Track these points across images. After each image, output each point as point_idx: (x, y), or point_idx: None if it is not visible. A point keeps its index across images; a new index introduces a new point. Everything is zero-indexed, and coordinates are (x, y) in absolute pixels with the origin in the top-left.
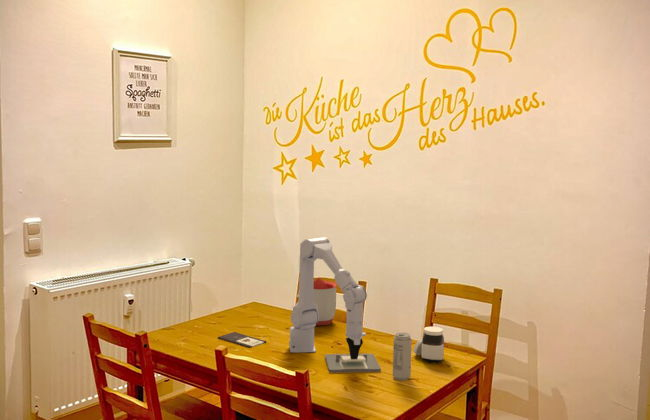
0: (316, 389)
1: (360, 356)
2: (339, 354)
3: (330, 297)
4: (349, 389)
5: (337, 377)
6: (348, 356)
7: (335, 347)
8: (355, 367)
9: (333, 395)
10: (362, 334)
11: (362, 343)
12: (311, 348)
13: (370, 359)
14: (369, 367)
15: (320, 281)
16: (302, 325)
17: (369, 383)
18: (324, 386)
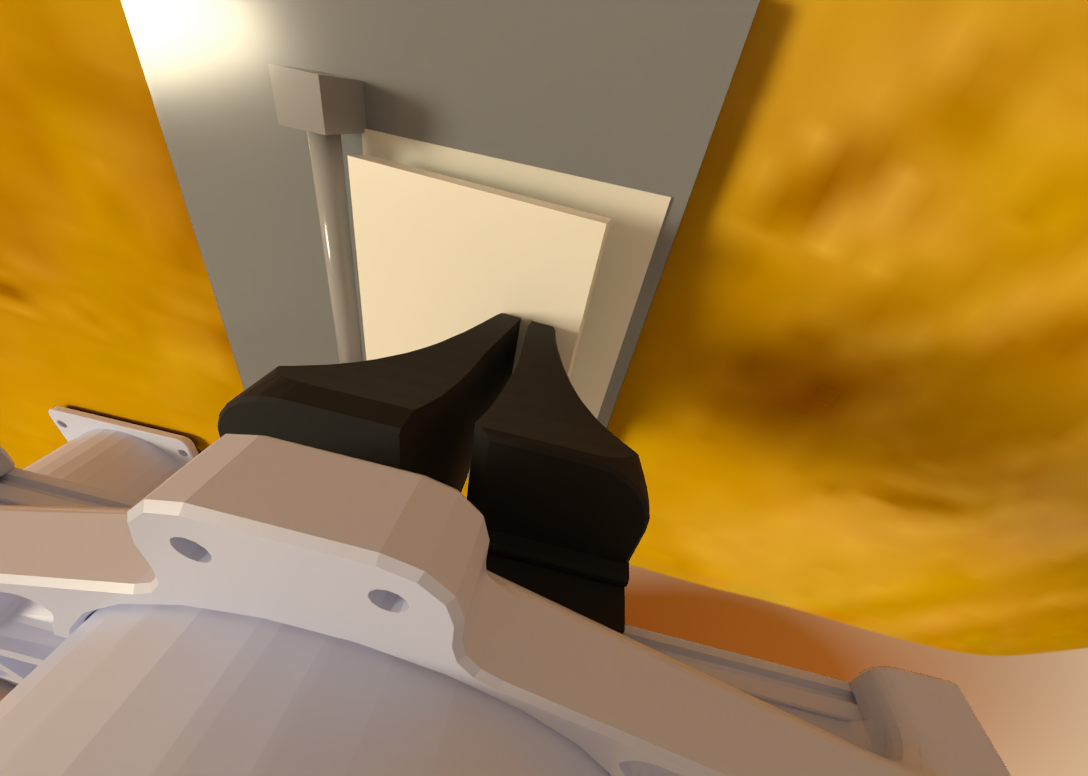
0: (810, 611)
1: (391, 210)
2: (231, 330)
3: None
4: (964, 492)
5: (689, 476)
6: (388, 343)
7: (5, 266)
8: (594, 321)
9: (967, 588)
10: (513, 695)
11: (634, 455)
12: (161, 463)
13: (343, 11)
14: (639, 157)
15: None
16: (6, 690)
17: (993, 307)
18: (795, 575)
